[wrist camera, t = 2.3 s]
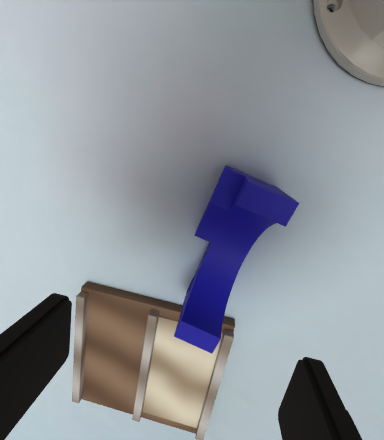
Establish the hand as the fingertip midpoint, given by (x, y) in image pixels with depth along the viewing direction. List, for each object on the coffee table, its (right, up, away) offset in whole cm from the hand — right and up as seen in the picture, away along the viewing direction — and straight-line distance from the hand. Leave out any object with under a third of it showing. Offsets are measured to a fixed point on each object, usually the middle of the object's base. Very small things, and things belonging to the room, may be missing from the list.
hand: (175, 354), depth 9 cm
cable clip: (+3, +4, +11) cm, 12 cm away
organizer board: (-4, -10, +16) cm, 19 cm away
